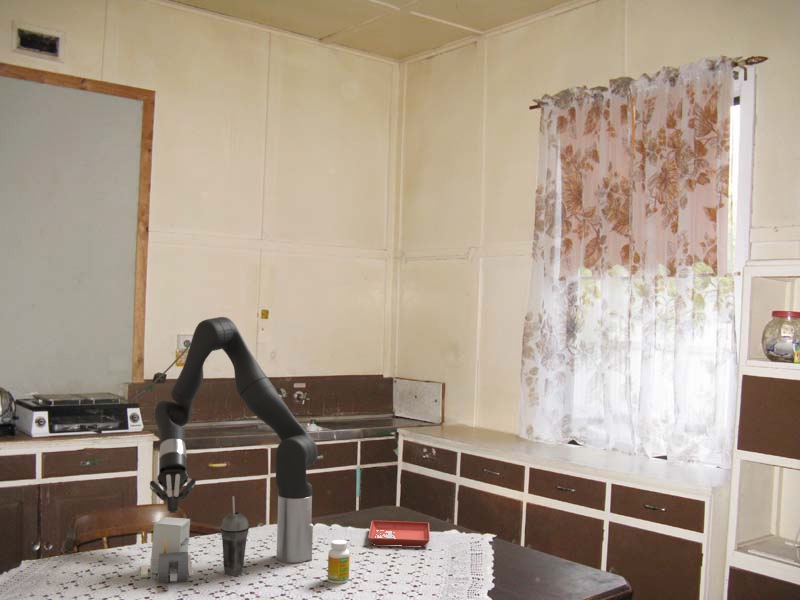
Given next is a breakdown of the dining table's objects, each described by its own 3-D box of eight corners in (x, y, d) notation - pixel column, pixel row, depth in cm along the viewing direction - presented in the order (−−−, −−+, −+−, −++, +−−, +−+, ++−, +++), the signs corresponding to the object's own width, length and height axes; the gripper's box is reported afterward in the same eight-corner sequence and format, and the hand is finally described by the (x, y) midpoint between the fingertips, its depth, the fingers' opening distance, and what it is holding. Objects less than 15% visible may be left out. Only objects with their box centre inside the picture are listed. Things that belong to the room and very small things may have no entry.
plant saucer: (429, 550, 223) (430, 539, 223) (367, 548, 223) (368, 537, 223) (428, 532, 241) (429, 522, 241) (371, 531, 241) (371, 520, 241)
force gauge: (190, 555, 211) (191, 532, 211) (193, 581, 191) (194, 555, 191) (141, 559, 207) (142, 535, 207) (140, 585, 187) (141, 558, 188)
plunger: (182, 572, 195) (183, 539, 195) (184, 586, 185) (185, 551, 185) (162, 574, 193) (163, 540, 194) (162, 587, 184) (163, 552, 184)
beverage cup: (253, 571, 200) (255, 493, 200) (238, 579, 193) (240, 499, 193) (228, 567, 202) (231, 490, 202) (213, 576, 195) (215, 496, 196)
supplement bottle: (340, 585, 191) (341, 546, 191) (323, 581, 194) (324, 542, 194) (353, 579, 195) (354, 541, 196) (336, 575, 198) (337, 537, 198)
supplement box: (177, 575, 194) (181, 525, 195) (149, 573, 195) (152, 523, 195) (187, 566, 202) (191, 518, 202) (160, 564, 202) (163, 516, 203)
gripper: (148, 451, 218) (147, 505, 206) (197, 449, 222) (198, 502, 210) (148, 467, 223) (147, 520, 211) (195, 465, 227) (197, 517, 215)
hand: (173, 511), depth 210 cm, fingers closed
